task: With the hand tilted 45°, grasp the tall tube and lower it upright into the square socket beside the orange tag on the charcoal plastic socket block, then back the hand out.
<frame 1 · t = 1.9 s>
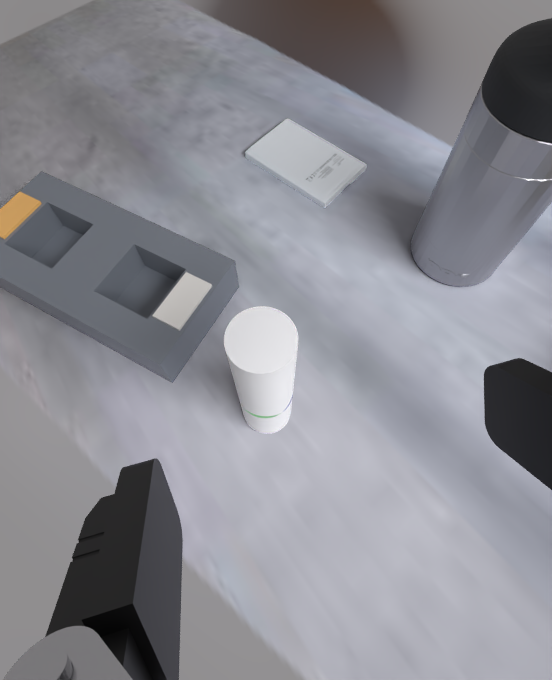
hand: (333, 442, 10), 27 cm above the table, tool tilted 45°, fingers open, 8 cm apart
external hard drive: (304, 168, 51), on the table
tube: (267, 410, 37), on the table
socket block: (110, 282, 43), on the table
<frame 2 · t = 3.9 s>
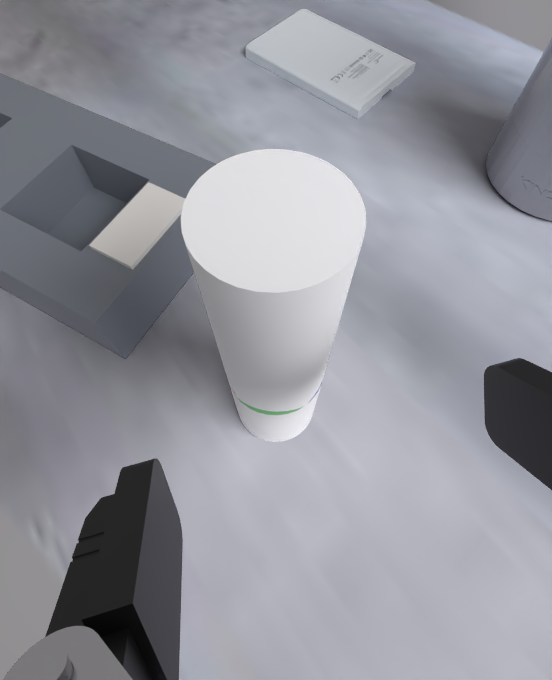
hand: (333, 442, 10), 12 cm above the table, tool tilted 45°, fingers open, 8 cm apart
external hard drive: (327, 73, 37), on the table
tube: (275, 404, 23), on the table
socket block: (44, 213, 29), on the table
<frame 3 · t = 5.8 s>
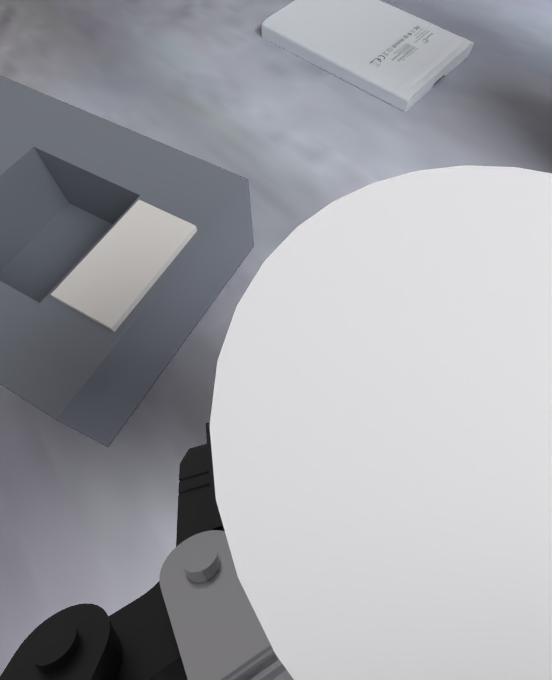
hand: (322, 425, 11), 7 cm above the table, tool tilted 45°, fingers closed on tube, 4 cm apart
external hard drive: (362, 56, 30), on the table
tube: (320, 516, 16), on the table, touching gripper
socket block: (3, 236, 22), on the table
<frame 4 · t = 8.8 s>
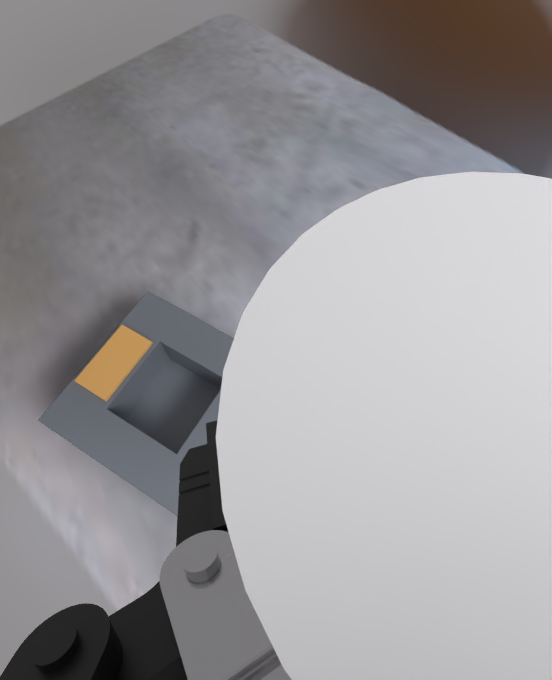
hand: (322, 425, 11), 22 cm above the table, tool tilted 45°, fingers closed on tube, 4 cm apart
tube: (321, 518, 16), point 15 cm above the table, touching gripper
socket block: (238, 447, 32), on the table
when the fingers open (9 cm above the table, at t = 12.0 s): tube stays where it is, resting on socket block.
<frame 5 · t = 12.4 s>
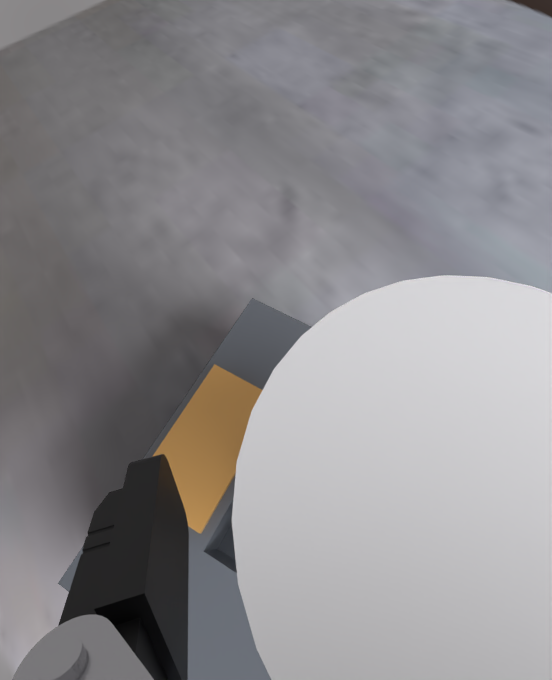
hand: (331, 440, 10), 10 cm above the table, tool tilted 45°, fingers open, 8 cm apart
tube: (320, 522, 17), point 1 cm above the table, touching socket block
socket block: (436, 590, 17), on the table
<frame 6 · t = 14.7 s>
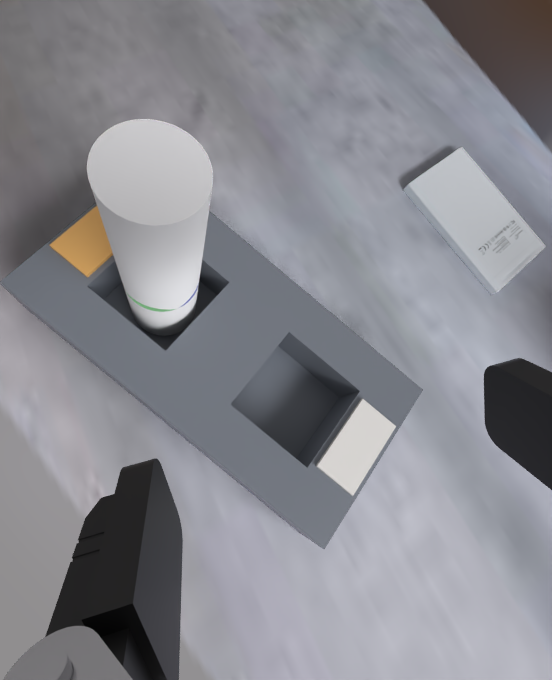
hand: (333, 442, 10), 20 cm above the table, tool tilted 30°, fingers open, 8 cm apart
external hard drive: (467, 224, 39), on the table
tube: (164, 306, 29), point 1 cm above the table, touching socket block
socket block: (222, 356, 30), on the table
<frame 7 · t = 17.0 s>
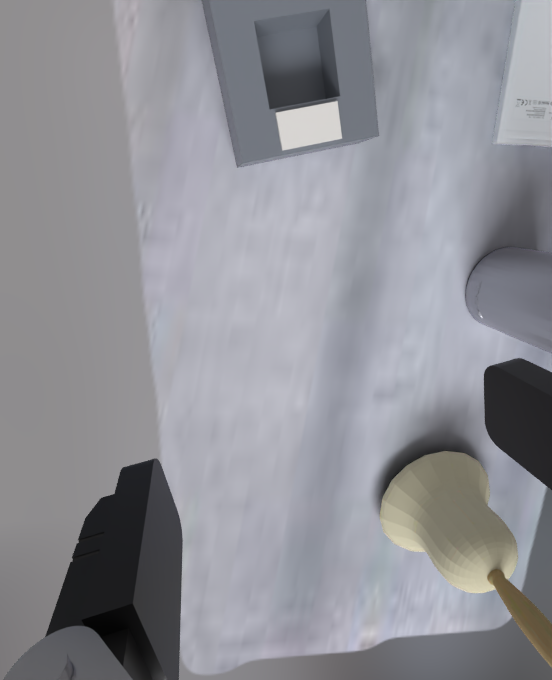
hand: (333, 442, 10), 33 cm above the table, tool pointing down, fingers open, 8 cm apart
external hard drive: (533, 79, 42), on the table
socket block: (274, 1, 35), on the table
handbell: (427, 492, 55), on the table
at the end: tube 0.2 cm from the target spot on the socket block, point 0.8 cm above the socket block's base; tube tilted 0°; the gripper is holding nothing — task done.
